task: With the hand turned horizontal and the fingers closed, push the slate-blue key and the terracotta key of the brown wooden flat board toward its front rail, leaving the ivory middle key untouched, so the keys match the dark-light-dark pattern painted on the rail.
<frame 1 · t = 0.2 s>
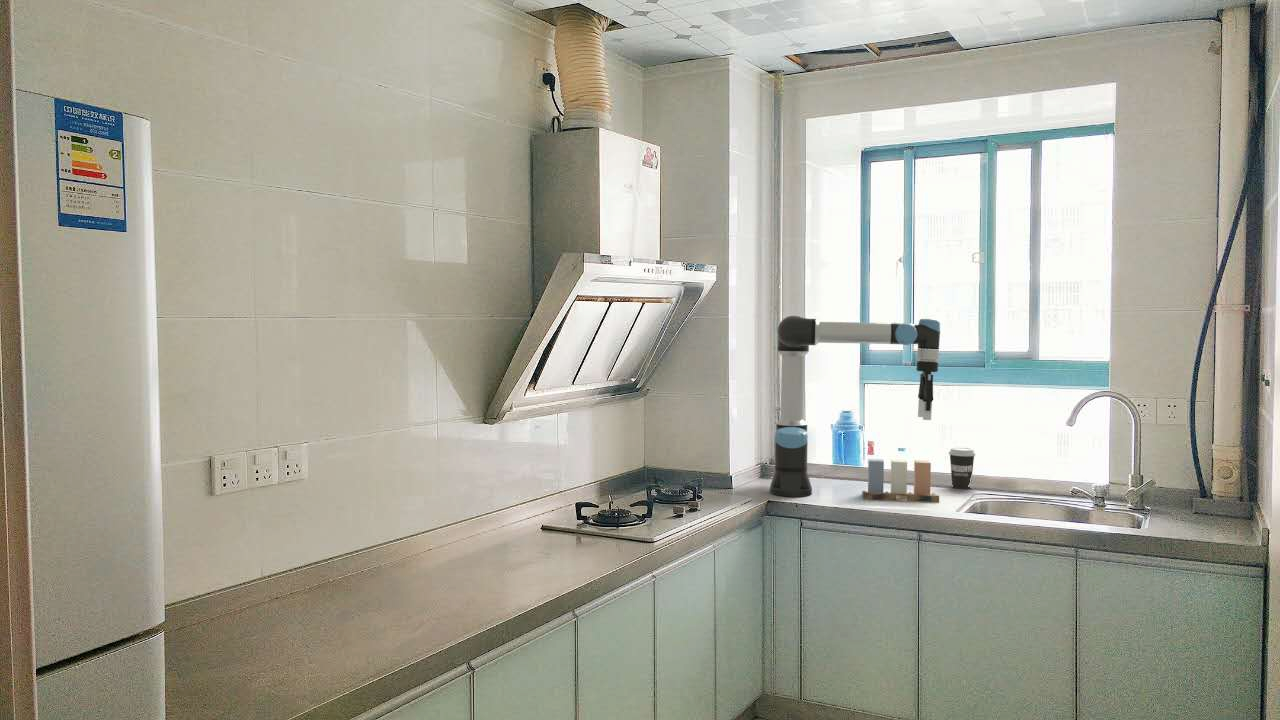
hand: (924, 418, 333), 27 cm above the counter, tool pointing down, fingers open, 13 cm apart
key b: (898, 477, 322), point 7 cm above the counter, slide at 0.0 cm
key a: (875, 476, 324), point 7 cm above the counter, slide at 0.0 cm
brown wooden flat board: (899, 498, 320), on the counter
key c: (922, 478, 321), point 7 cm above the counter, slide at 0.0 cm
coffee cup: (961, 489, 340), on the counter
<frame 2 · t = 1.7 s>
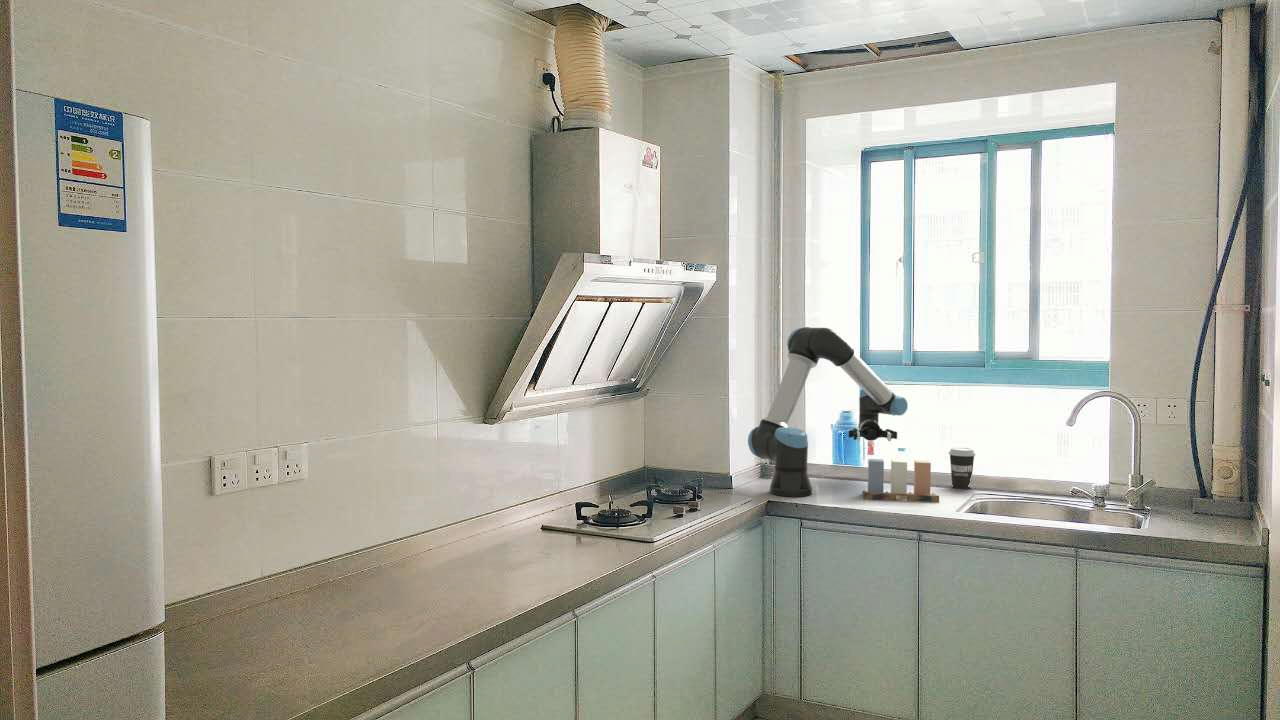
hand: (874, 437, 333), 20 cm above the counter, tool horizontal, fingers open, 10 cm apart
nothing on the counter moved.
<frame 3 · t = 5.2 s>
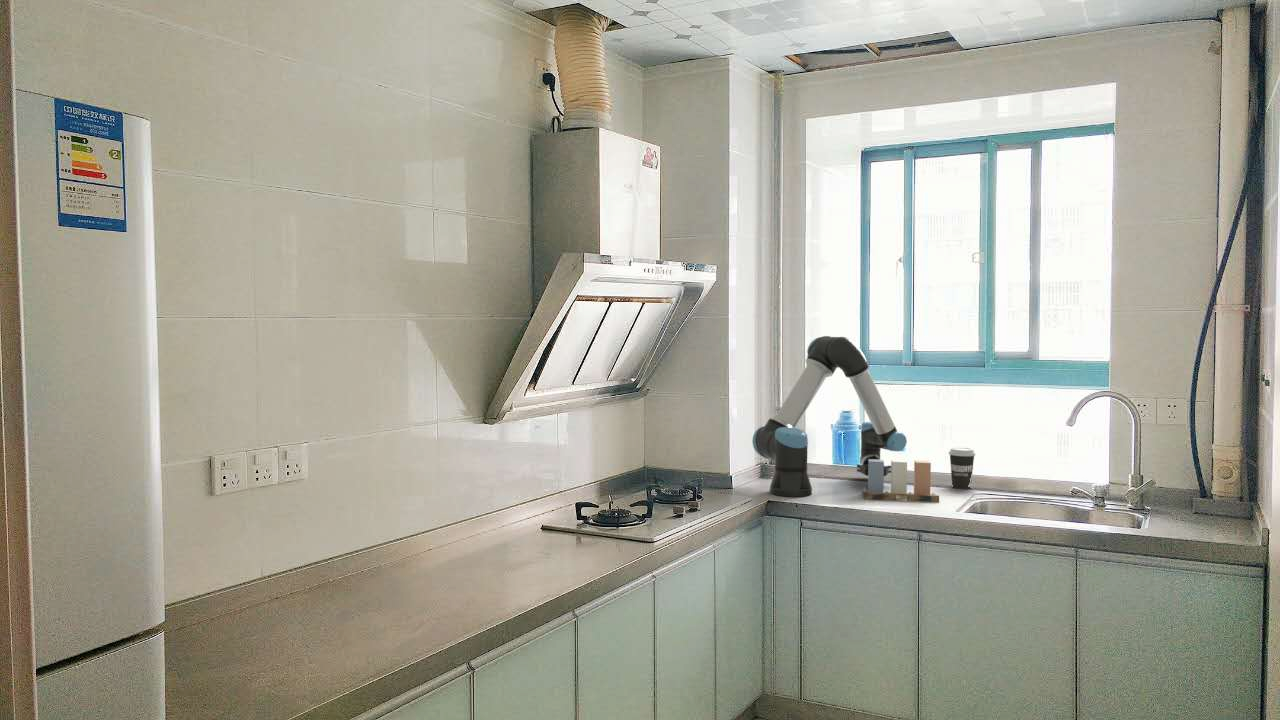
hand: (877, 475, 325), 7 cm above the counter, tool horizontal, fingers closed
key a: (875, 477, 323), point 7 cm above the counter, slide at 0.6 cm, touching gripper
everything else where it was.
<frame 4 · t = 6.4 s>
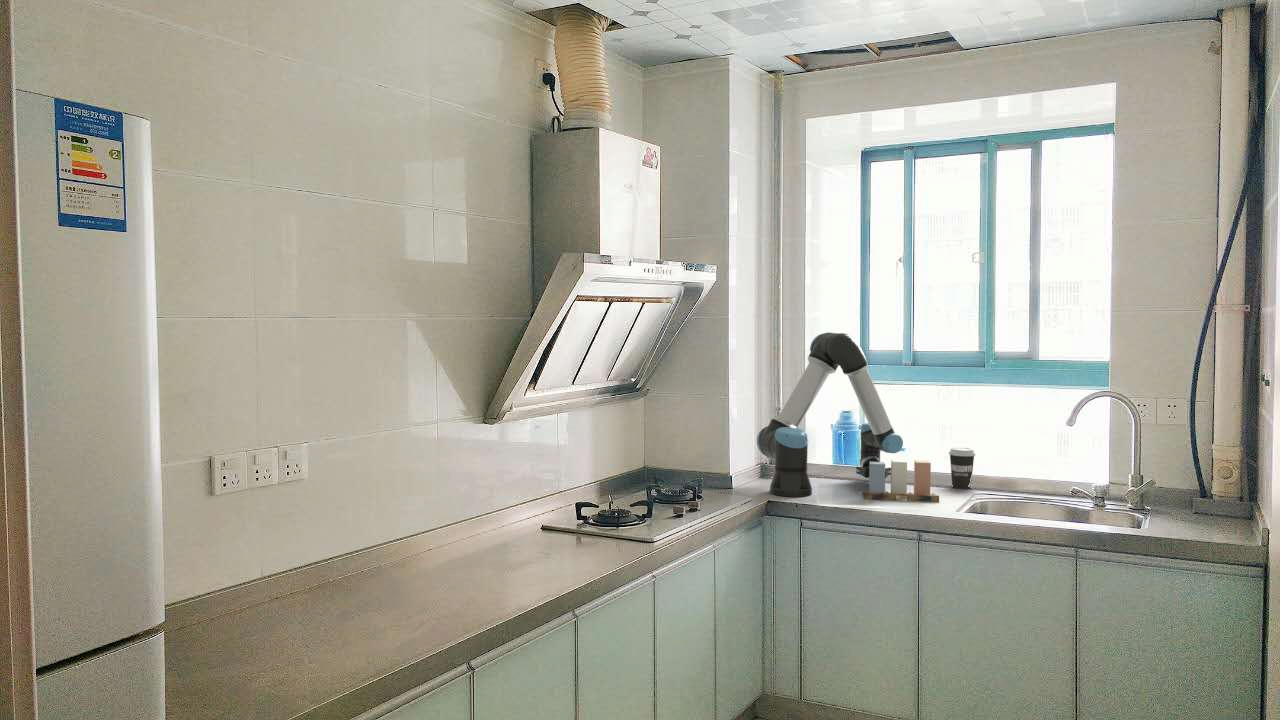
hand: (877, 478, 320), 7 cm above the counter, tool horizontal, fingers closed
key a: (877, 479, 317), point 7 cm above the counter, slide at 6.2 cm, touching gripper
everything else where it was.
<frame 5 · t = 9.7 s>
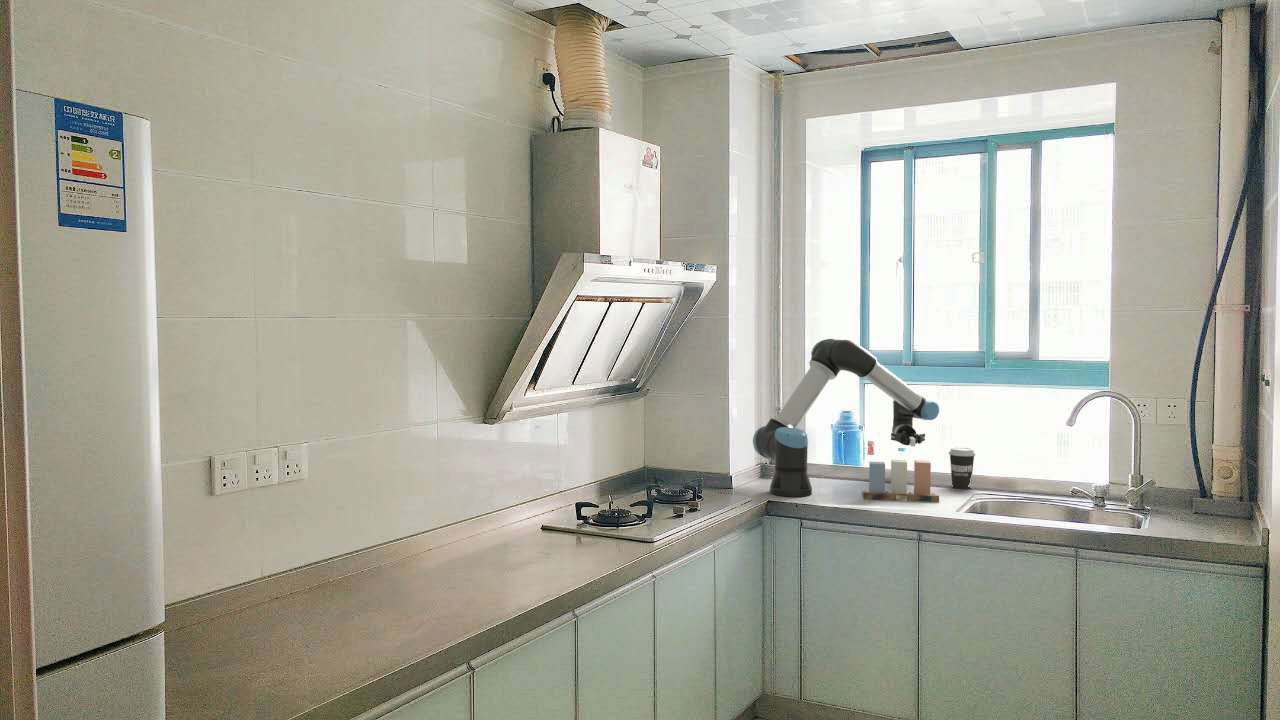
hand: (913, 442, 330), 19 cm above the counter, tool horizontal, fingers closed
key a: (877, 479, 318), point 7 cm above the counter, slide at 6.0 cm
everything else where it was.
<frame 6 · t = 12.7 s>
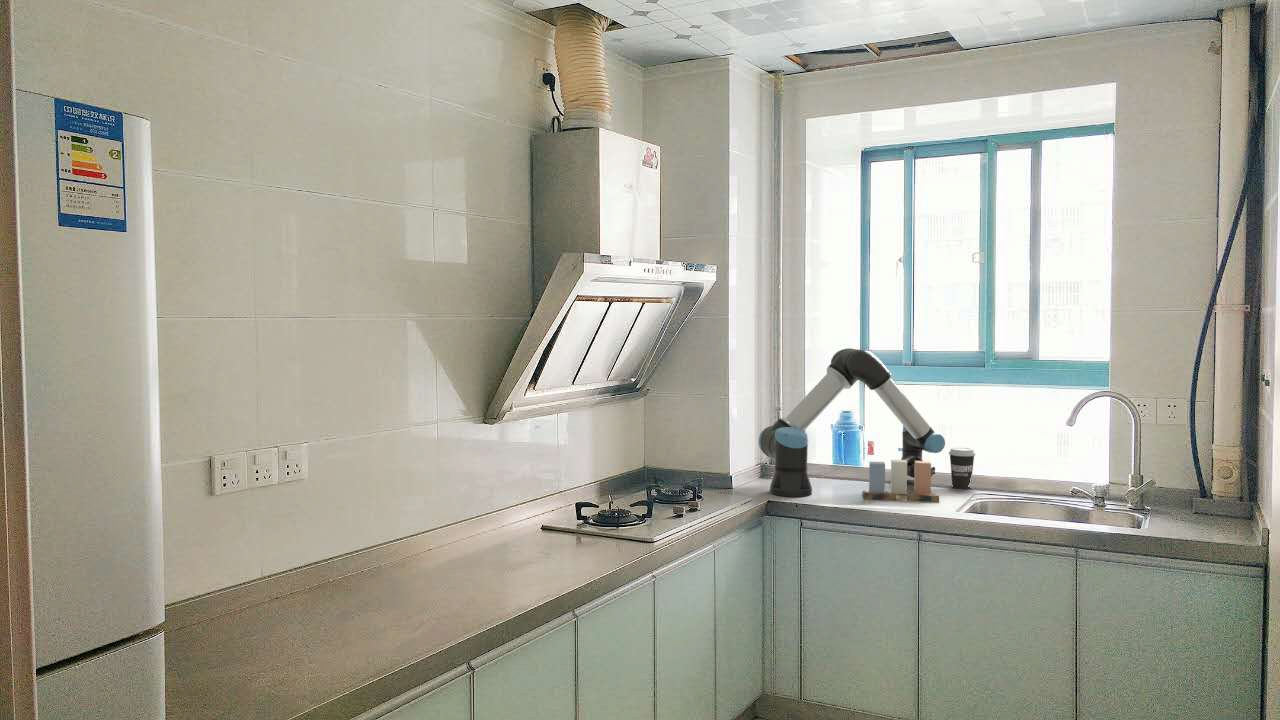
hand: (923, 477, 322), 7 cm above the counter, tool horizontal, fingers closed
key c: (922, 478, 320), point 7 cm above the counter, slide at 0.8 cm, touching gripper
everything else where it was.
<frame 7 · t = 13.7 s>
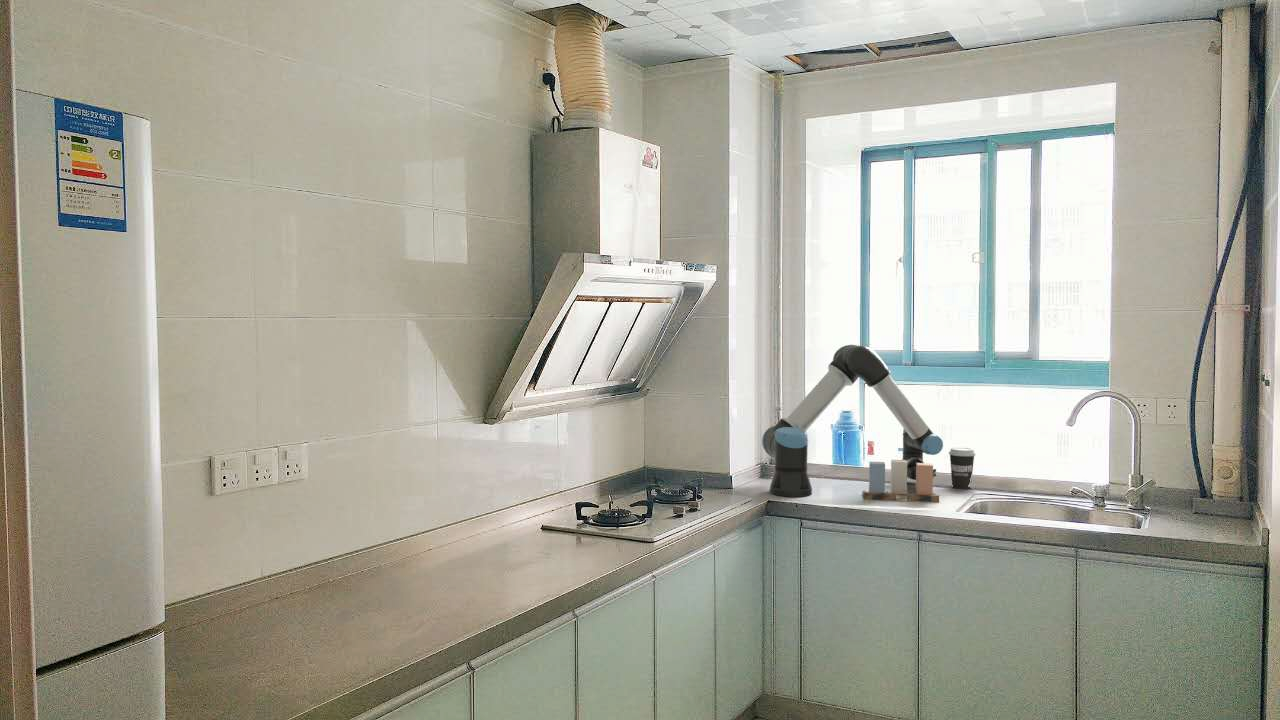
hand: (924, 479, 318), 7 cm above the counter, tool horizontal, fingers closed
key c: (924, 481, 315), point 7 cm above the counter, slide at 5.8 cm, touching gripper
everything else where it was.
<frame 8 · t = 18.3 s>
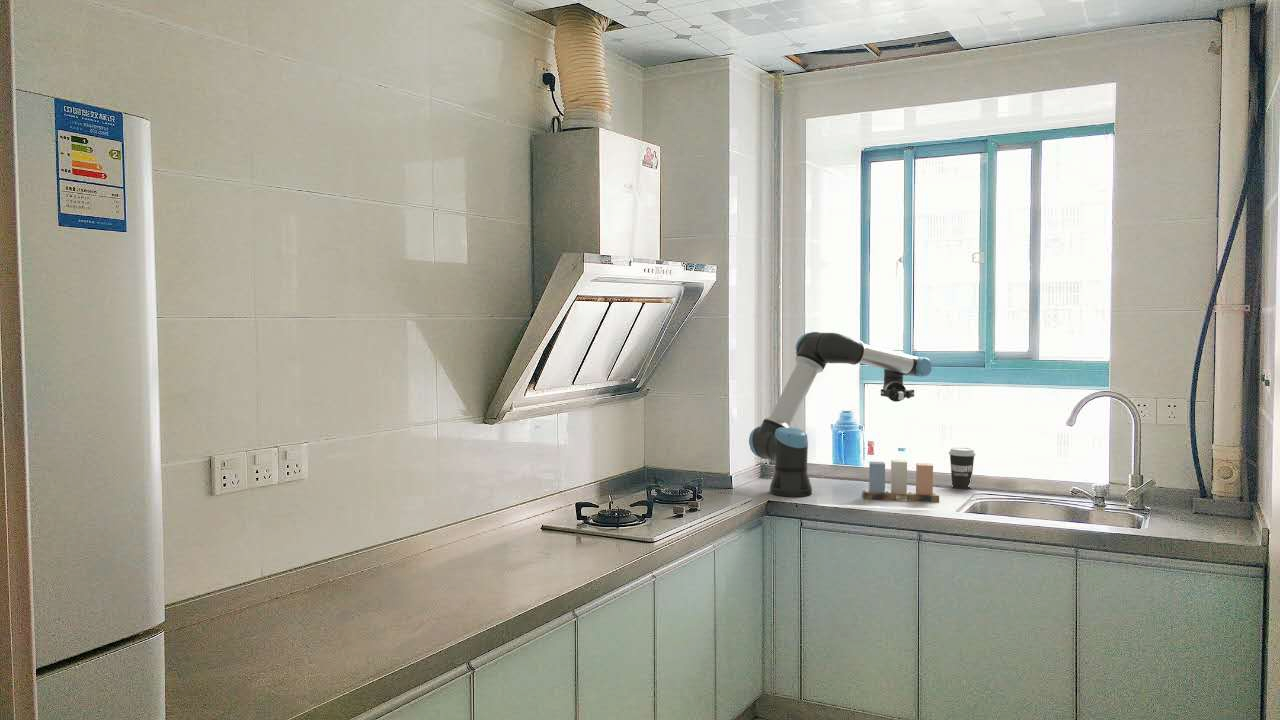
hand: (901, 396, 335), 35 cm above the counter, tool horizontal, fingers closed
key c: (924, 481, 315), point 7 cm above the counter, slide at 6.0 cm
everything else where it was.
at the end: key a slide at 6.0 cm; key c slide at 6.0 cm; key b slide at 0.0 cm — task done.
